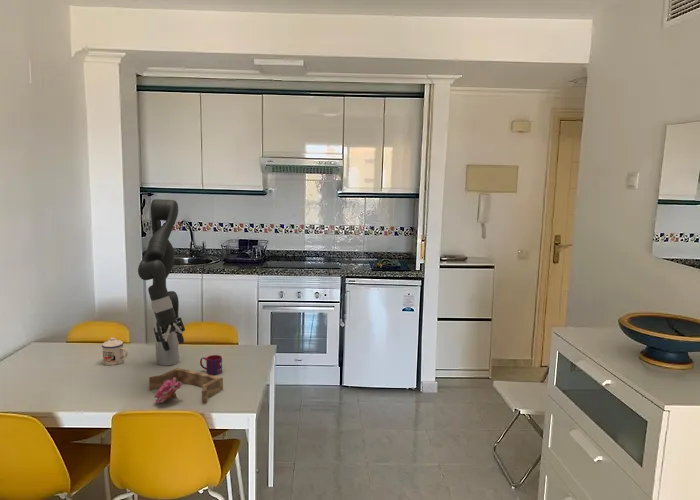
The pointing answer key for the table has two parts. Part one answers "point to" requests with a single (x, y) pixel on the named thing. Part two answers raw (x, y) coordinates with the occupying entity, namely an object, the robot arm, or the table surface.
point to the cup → (213, 364)
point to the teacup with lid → (113, 352)
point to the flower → (168, 391)
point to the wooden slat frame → (190, 381)
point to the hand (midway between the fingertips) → (174, 346)
